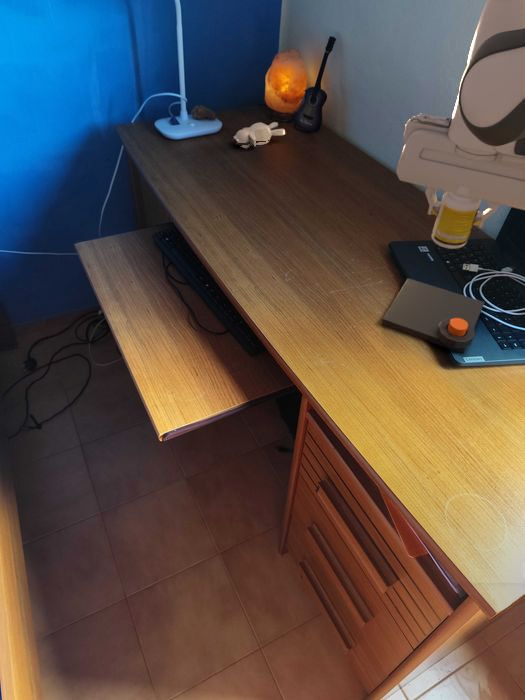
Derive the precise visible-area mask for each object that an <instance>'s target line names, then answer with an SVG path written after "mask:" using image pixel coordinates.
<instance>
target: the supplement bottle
mask: <svg viewBox="0 0 525 700" xmlns="http://www.w3.org/2000/svg"><path fill="white" fill-rule="evenodd" d="M468 192H469V187H465V186H459V189H458V191H457V193H450V192H446V191H445V192H444V194H443V195H442V198H441V200H440V201H441V205H440V208H439V211H438V215H437V216H436V219H435V221H434V225H433V228H432V231H431V239H432V241H433V243H435V244H436V245H438V246H439V247H442V248H445V249H452V250H453V249H461V248H463V247H464V246H465V245H466V244H467V243H468V240H469V238H470V234H471V231H472V229H473V226H472V224H473V222H474V218H475V216H476V215H477V212H478V211H480V206H481V202H482V200H480V199H476V198H471V197H469V196H468V195H469V193H468Z"/></svg>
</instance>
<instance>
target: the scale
mask: <svg viewBox="0 0 525 700" xmlns="http://www.w3.org/2000/svg"><path fill="white" fill-rule="evenodd" d="M485 303H486V302H485V301H483V300H479V299H475V298H473V297H470V296H466V295H463V294H460V293H457V292H454V291H450V290H447V289H444V288H440V287H438V286H435V285H431V284H428V283H424V282H421V281H417V280H414V279H411V278H409V277H408V278H407V279H406V281H404V284H403V285H402V287H401V289H400V291H398V294H397V296H396V297H395V298H394V300H393V302H392V303H391V305H390V307H389V308H388V310H387V312H386V313H385V315H384V316H383V318H382V321H381V325H382V326H385V327H388V328H390V329H393V330H396V331H399V332H401V333H404V334H407V335H410V336H412V337H416V338H418V339H422V340H424V341H427V342H430V343H432V344H435V345H438V346H441V347H444V348H447V349H450V350H452V351H455V352H458V353H461V354H464V353H465V351H466V349H467V347H468V346H470V345H471V344H472V342H473V339H474V337H475V335H476V331H475V326H476V325H477V322H478V319H479V317H480V315H481V312H482V310H483V307H484V305H485ZM453 318H461V319H463V320H465V321H466V322H467V323H468V328H467V330H466V333H465V335H464V336H462V337H456V336H453V335H451V334H450V333H449V332H448V330H447V329H448V326H449V323H450V321H451V320H452V319H453Z"/></svg>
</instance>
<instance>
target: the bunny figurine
mask: <svg viewBox="0 0 525 700" xmlns="http://www.w3.org/2000/svg"><path fill="white" fill-rule="evenodd" d="M277 127H279V123H278V122H277V121H273V122H271V123H270V124H268V125H267V124H265V123H263V122H256V123H254V124H252V125H251V126H250V127H243V128H242V129H239V130H238V131H237V132H236V134H235V135H234V136H233V140H234V139H235V140H236V141H237V143H247V142H251V143H252V144H253V145H254V146H253V145H252V144H251V143H250V144H248V145H242V146H241V148H243V149H248V148H250V147H251V146H252V147H257V146H263V145H266V144H268V143H269V142H270V140H271V138H272V136H284V135H286V130H285V128H277ZM276 128H277V129H276ZM268 140H269V141H268ZM256 141H266V142H258V143H256ZM237 143H236V144H237ZM256 145H257V146H256Z"/></svg>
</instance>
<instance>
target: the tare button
mask: <svg viewBox="0 0 525 700" xmlns="http://www.w3.org/2000/svg"><path fill="white" fill-rule="evenodd" d="M467 328H468V323H467V322H466V321H465V320H463V319H461V318H453V319H452V320H451V321H450V323H449V326H448V329H447V330H448V332H449V333H450V334H451V335H453V336H456V337H462V336H464V335H465V333H466V330H467Z"/></svg>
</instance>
